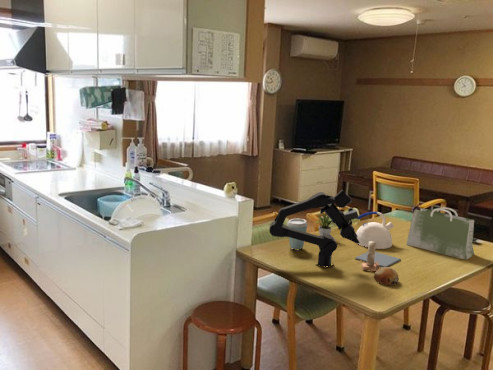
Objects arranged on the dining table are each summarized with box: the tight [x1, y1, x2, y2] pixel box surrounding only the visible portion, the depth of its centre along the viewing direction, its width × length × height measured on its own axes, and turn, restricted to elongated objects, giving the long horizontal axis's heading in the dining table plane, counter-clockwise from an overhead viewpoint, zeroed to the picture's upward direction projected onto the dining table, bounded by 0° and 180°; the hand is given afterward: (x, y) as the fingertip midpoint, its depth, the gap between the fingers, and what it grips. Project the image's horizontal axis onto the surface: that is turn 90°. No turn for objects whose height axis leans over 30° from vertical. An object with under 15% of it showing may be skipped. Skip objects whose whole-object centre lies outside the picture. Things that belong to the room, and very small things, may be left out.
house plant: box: [314, 212, 336, 236], centre depth 248 cm, size 14×14×16 cm
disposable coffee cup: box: [286, 217, 309, 250], centre depth 229 cm, size 11×11×15 cm
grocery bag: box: [406, 206, 475, 260], centre depth 236 cm, size 32×14×23 cm, turn 48°
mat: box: [354, 251, 401, 268], centre depth 218 cm, size 16×16×1 cm
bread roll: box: [374, 266, 400, 286], centre depth 191 cm, size 10×10×8 cm
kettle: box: [355, 211, 395, 250], centre depth 243 cm, size 20×21×18 cm
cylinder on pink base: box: [361, 241, 380, 272], centre depth 204 cm, size 7×5×13 cm
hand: (357, 240), depth 203 cm, fingers open, 9 cm apart
